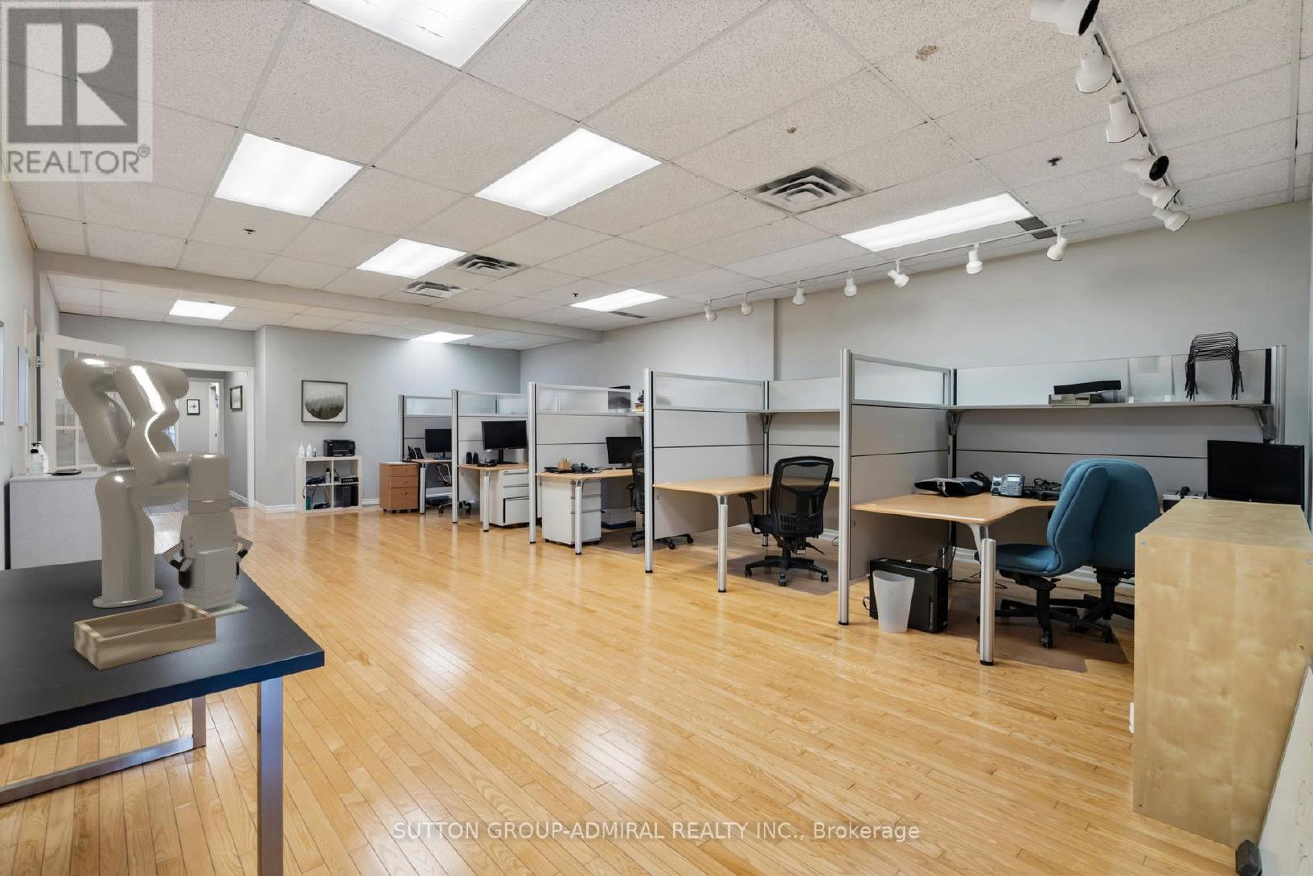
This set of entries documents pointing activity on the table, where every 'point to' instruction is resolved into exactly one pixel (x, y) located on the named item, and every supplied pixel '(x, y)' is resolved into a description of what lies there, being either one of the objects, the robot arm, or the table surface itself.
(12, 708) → the table surface
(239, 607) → the mat
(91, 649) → the crate
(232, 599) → the supplement box
